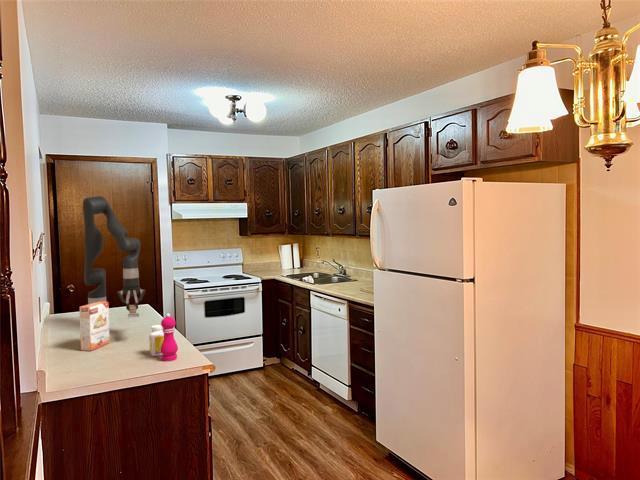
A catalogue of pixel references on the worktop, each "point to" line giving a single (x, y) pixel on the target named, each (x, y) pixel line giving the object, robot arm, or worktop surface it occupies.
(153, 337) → the supplement bottle
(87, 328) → the cracker box
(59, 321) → the worktop surface
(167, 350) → the pepper mill
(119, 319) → the worktop surface
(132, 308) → the tan flat bar
